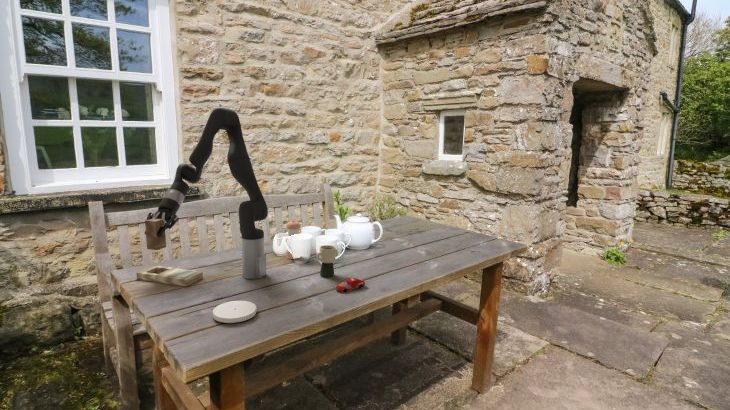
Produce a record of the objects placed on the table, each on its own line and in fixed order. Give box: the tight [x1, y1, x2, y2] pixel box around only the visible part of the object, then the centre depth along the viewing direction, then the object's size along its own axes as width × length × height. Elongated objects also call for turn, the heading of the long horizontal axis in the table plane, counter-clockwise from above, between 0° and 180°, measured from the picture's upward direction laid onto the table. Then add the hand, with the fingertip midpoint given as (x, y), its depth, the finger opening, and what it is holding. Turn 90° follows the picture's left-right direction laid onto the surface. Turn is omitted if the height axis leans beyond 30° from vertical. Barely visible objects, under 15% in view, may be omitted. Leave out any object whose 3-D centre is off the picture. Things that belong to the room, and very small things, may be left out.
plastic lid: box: [212, 300, 257, 324], centre depth 133 cm, size 14×14×2 cm
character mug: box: [316, 244, 339, 277], centre depth 173 cm, size 11×7×13 cm, turn 131°
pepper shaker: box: [285, 219, 301, 260], centre depth 197 cm, size 7×7×19 cm
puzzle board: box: [135, 265, 204, 287], centre depth 164 cm, size 24×10×3 cm, turn 75°
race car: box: [335, 277, 366, 294], centre depth 160 cm, size 13×5×4 cm, turn 127°
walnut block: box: [144, 219, 167, 251], centre depth 162 cm, size 5×5×12 cm
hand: (152, 235), depth 160 cm, fingers closed on walnut block, 5 cm apart
